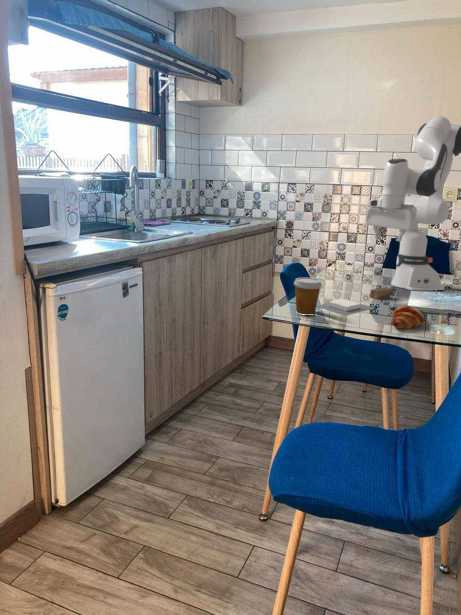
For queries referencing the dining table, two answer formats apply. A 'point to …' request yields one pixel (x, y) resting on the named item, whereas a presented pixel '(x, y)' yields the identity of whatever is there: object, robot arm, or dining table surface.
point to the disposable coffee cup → (306, 294)
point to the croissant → (407, 317)
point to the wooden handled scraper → (381, 293)
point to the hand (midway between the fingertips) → (387, 239)
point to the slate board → (342, 312)
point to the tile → (344, 304)
